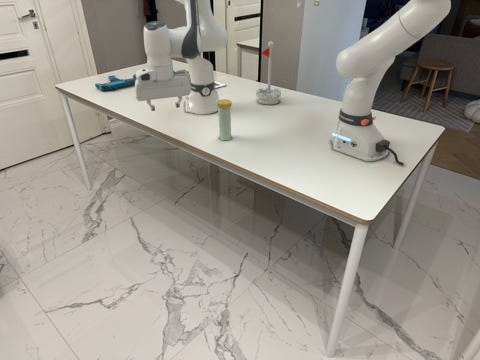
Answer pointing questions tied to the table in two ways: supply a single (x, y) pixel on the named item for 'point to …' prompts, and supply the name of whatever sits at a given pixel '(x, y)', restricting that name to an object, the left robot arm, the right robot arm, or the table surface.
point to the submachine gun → (116, 83)
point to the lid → (224, 103)
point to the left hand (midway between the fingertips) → (165, 108)
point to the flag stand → (268, 94)
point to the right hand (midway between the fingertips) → (308, 6)
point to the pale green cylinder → (224, 123)
